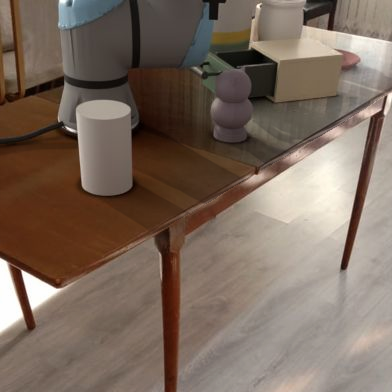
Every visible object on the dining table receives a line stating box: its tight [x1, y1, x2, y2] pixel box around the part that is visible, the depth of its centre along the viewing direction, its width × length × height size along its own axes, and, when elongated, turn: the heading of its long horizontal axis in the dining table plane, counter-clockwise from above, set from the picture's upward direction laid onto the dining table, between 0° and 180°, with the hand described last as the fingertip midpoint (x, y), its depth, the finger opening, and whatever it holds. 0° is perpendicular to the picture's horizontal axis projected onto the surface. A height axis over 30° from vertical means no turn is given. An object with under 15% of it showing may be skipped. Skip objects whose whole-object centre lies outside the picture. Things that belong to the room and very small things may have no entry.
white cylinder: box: [76, 100, 133, 197], centre depth 98 cm, size 8×8×12 cm
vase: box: [200, 0, 255, 68], centre depth 145 cm, size 17×17×24 cm
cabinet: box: [249, 36, 344, 104], centre depth 138 cm, size 16×14×9 cm
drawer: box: [187, 49, 278, 99], centre depth 133 cm, size 20×12×7 cm, turn 114°
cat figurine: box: [210, 66, 254, 144], centre depth 115 cm, size 8×8×12 cm
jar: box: [257, 0, 307, 41], centre depth 149 cm, size 11×10×15 cm
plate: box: [333, 48, 362, 72], centre depth 155 cm, size 14×14×2 cm
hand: (213, 11), depth 101 cm, fingers closed
